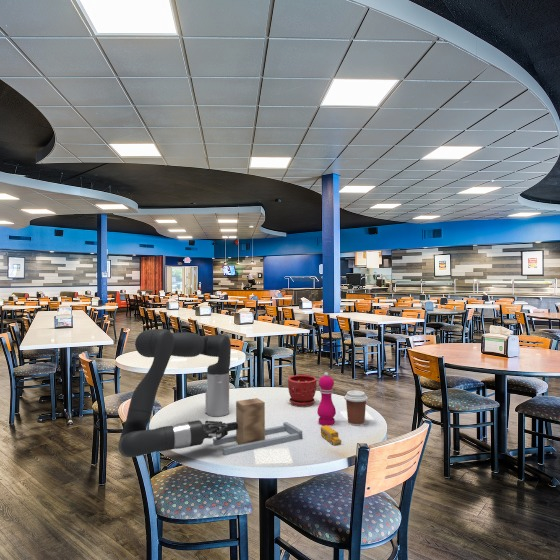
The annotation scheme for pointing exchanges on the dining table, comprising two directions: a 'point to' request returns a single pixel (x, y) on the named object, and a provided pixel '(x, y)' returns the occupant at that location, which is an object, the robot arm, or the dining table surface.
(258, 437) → the walnut block
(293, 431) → the trap channel
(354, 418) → the coffee cup
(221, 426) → the robot arm
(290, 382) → the plant pot
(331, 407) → the pepper mill
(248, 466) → the dining table surface
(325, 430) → the toy bus
